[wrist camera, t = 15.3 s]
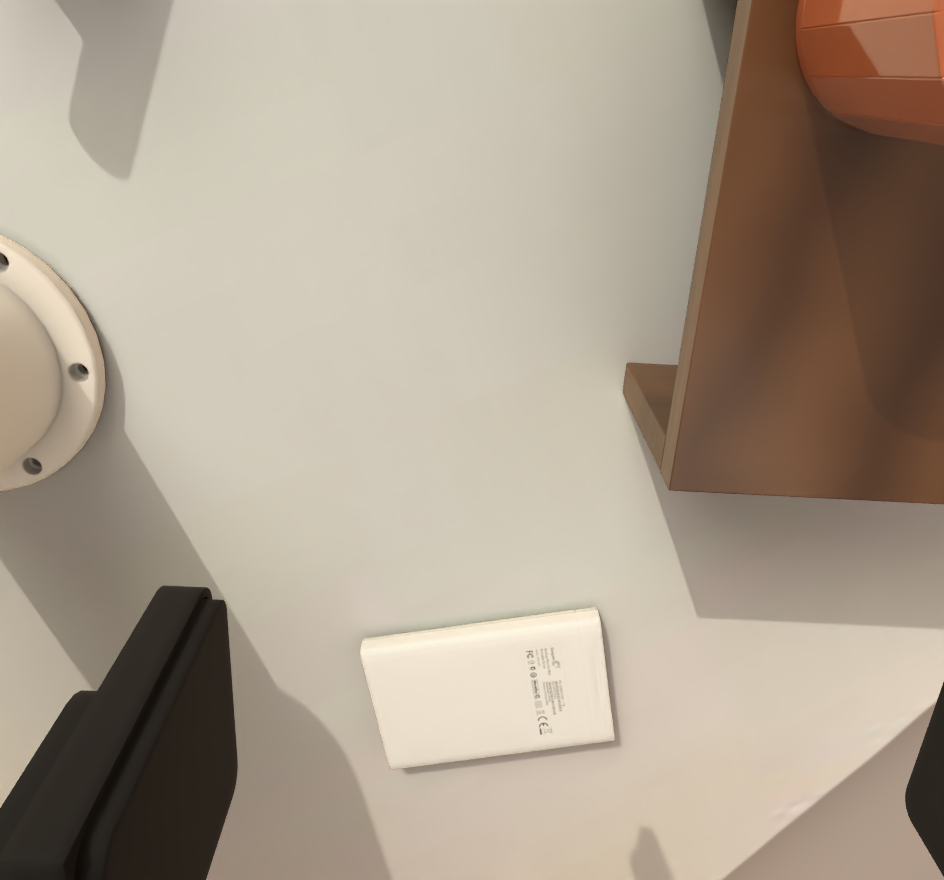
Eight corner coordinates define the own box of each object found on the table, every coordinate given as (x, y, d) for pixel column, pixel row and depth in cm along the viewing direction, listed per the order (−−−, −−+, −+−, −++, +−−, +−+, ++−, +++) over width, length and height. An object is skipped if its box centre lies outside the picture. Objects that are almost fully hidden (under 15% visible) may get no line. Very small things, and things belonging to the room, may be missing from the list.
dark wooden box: (622, 392, 39) (668, 490, 30) (691, -114, 31) (784, -190, 22) (960, 411, 40) (1107, 513, 31) (1115, -85, 32) (1378, -148, 22)
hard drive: (362, 633, 45) (596, 603, 44) (392, 751, 48) (611, 724, 47) (359, 653, 43) (601, 621, 42) (390, 773, 46) (615, 745, 46)
